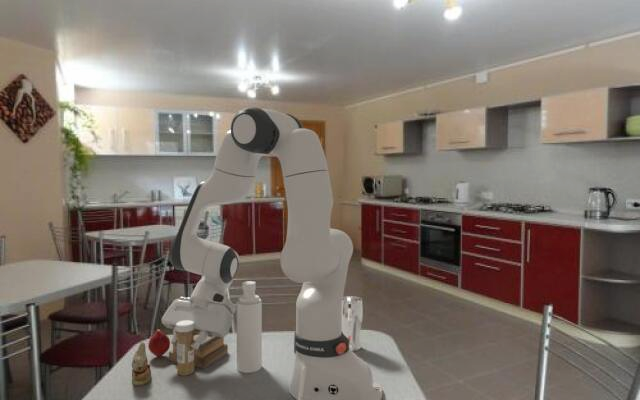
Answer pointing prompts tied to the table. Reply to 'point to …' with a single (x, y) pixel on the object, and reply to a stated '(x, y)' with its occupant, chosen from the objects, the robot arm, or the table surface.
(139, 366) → the chocolate bunny
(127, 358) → the table surface
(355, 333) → the beer glass
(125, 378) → the table surface
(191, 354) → the sprinkles bottle
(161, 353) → the onion
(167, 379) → the table surface
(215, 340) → the brown wooden square tray
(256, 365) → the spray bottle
